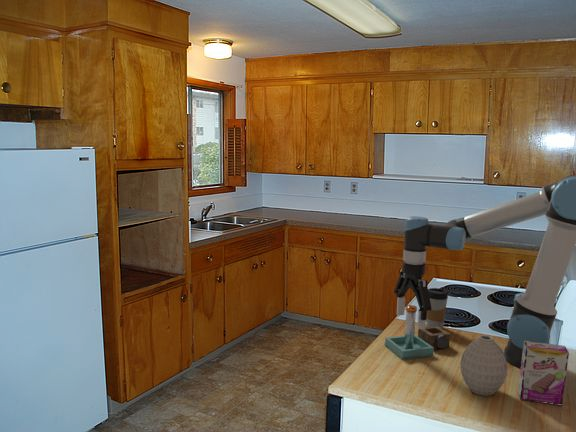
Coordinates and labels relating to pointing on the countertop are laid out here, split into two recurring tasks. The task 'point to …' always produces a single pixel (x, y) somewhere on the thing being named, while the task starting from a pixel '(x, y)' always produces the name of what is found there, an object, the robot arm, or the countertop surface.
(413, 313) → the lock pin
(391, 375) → the countertop surface
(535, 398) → the candy bar box
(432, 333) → the tensioner block
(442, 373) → the countertop surface
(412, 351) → the tray
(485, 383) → the vase
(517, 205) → the robot arm
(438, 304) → the coffee cup
